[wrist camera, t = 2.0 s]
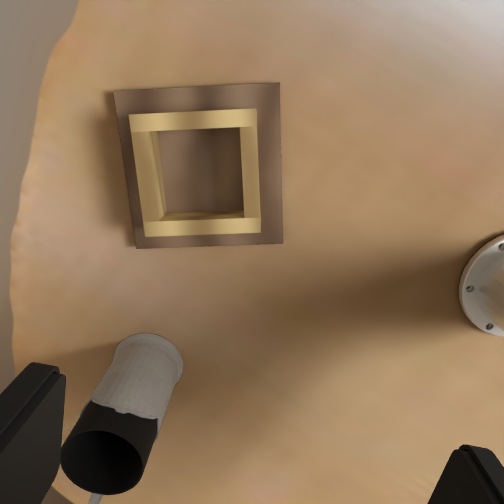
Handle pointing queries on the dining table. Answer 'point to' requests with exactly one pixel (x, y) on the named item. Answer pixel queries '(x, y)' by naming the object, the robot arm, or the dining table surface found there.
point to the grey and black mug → (122, 417)
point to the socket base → (203, 164)
